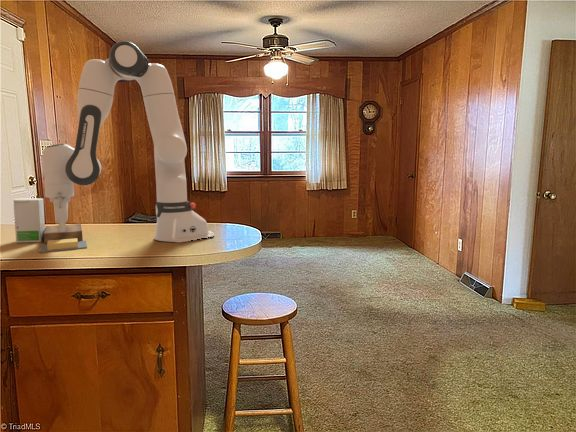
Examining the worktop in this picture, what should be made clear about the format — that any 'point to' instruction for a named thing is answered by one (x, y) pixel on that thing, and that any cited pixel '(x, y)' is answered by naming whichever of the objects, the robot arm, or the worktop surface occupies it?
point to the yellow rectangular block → (62, 244)
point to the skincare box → (29, 219)
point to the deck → (63, 233)
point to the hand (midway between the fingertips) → (63, 230)
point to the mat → (80, 246)
